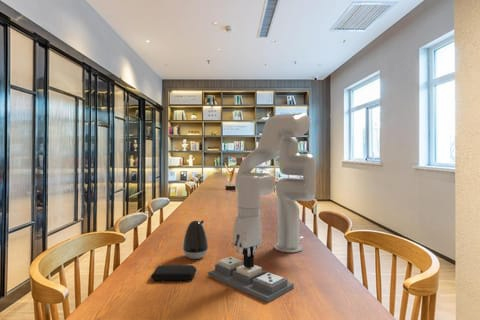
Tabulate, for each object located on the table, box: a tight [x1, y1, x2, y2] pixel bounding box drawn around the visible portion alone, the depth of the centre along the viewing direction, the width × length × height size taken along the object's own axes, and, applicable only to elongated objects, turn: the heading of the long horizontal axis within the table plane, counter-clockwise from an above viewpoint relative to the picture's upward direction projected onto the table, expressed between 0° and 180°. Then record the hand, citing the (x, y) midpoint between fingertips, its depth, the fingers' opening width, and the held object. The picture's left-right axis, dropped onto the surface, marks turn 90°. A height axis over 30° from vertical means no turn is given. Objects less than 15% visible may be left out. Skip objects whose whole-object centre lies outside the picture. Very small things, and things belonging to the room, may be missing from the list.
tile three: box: [257, 272, 284, 286], centre depth 96 cm, size 6×6×2 cm
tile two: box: [218, 256, 243, 269], centre depth 109 cm, size 6×6×2 cm
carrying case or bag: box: [150, 264, 197, 283], centre depth 107 cm, size 11×3×15 cm
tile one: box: [236, 264, 263, 277], centre depth 102 cm, size 6×6×2 cm
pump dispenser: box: [182, 220, 209, 260], centre depth 126 cm, size 10×10×15 cm
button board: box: [208, 262, 295, 303], centre depth 102 cm, size 13×27×4 cm, turn 45°
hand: (248, 266), depth 102 cm, fingers closed
